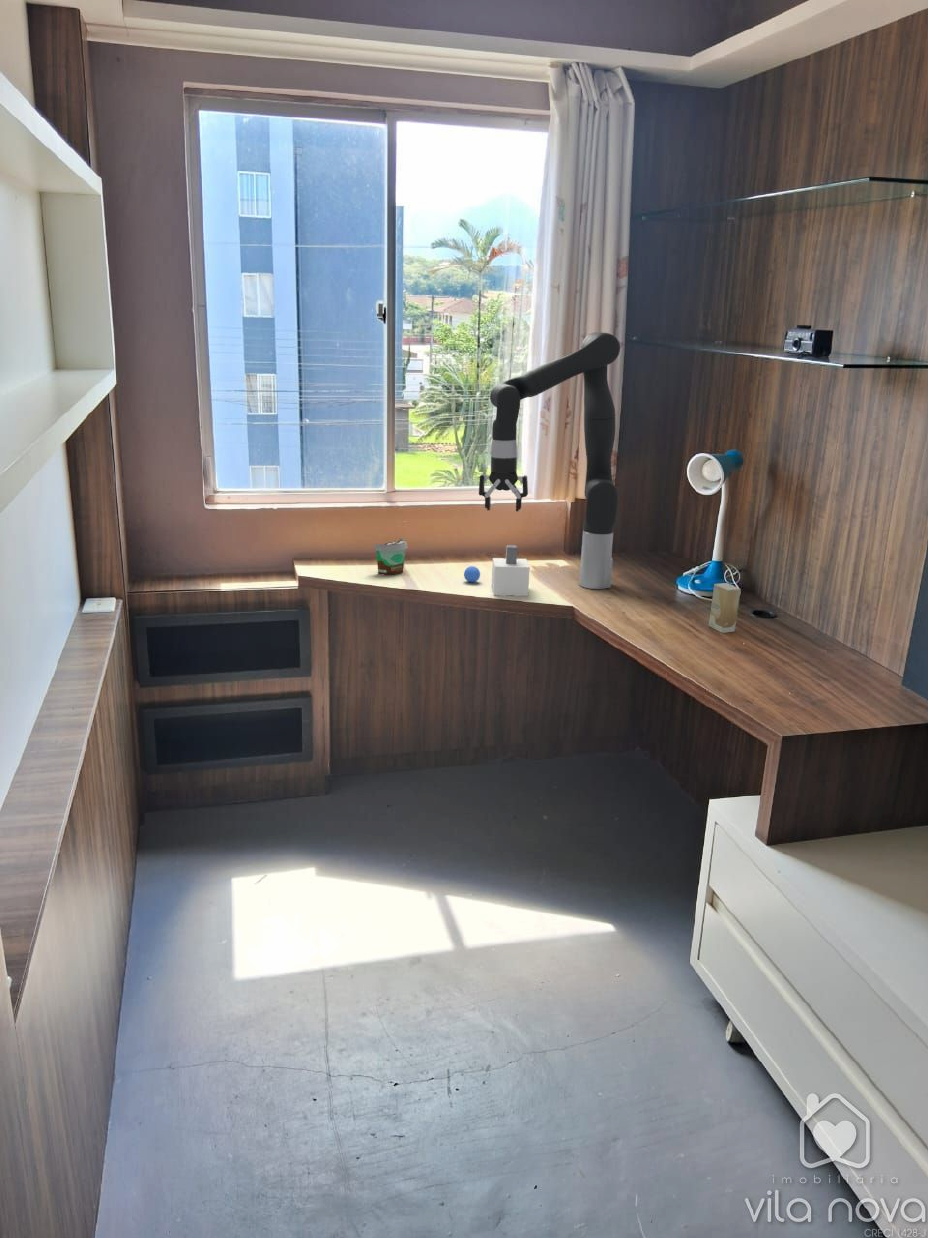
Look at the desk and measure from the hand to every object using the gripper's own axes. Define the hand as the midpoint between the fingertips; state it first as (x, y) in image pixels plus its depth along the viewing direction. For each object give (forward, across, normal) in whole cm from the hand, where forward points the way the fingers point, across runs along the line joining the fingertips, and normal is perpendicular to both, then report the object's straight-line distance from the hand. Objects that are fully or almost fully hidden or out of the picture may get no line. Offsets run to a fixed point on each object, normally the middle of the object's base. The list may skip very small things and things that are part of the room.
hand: (503, 510), depth 279 cm
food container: (+24, +35, -10) cm, 44 cm away
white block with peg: (+24, -2, +1) cm, 24 cm away
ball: (+22, +10, -6) cm, 24 cm away
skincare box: (+26, -63, +22) cm, 72 cm away
